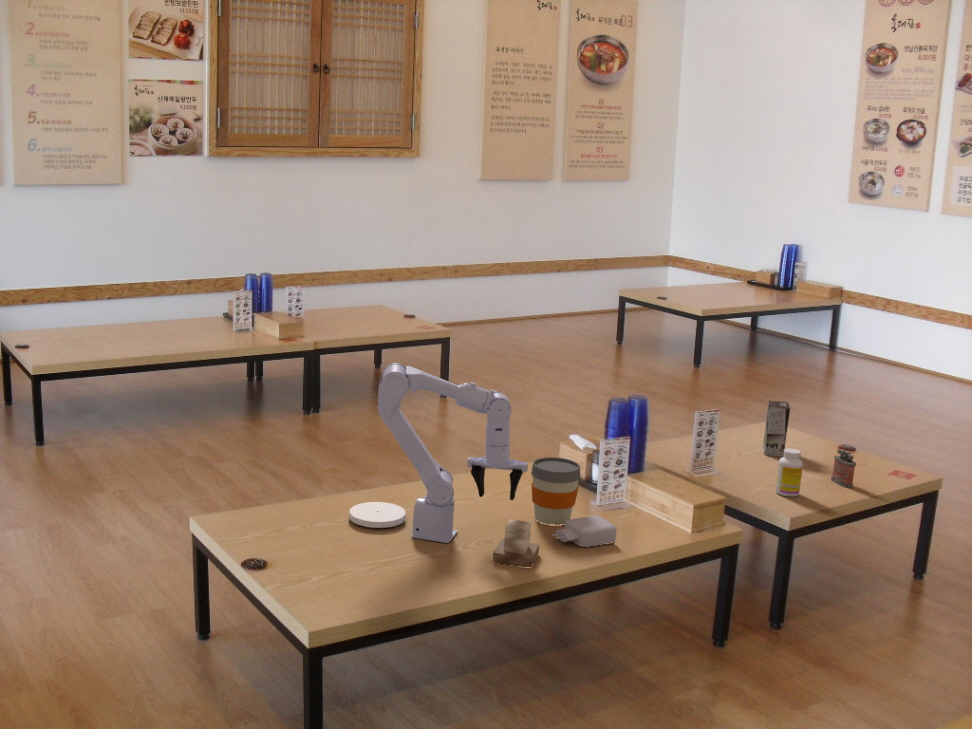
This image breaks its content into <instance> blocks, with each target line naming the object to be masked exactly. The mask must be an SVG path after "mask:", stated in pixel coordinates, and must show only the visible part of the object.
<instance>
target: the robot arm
mask: <svg viewBox="0 0 972 729" xmlns="http://www.w3.org/2000/svg"><path fill="white" fill-rule="evenodd" d="M378 386H379V387H378V397H377V398H378V401H377V402H378V403H377V404H378V406H377V412H378V416H379V417H380V418H381V420H382V421H383V423H384V424H385V425H386V427H387V428H388V430H389V431H390V433H391V435H392V436H393V437H394V439H395V440H396V442H397V443H398V445H399V446H400V447H401V449H402V450H403V452H404V454H405V455H406V457H407V458H408V459H409V461H410V462H411V464H412V466H414V468H415V470H416V471H417V473H418V475H419V477H420V478H421V482H422V483H423V485H424V487H425V489H426V491H427V492H426V493H427V494H426V495H425V496H424V497H418V498H417V499H416V500H415V503H414V508H413V515H412V517H413V518H412V531H411V532H412V533H411V536H410V537H411V538H413V539H414V538H415V539H418V540H420V539H421V540H426V541H432V542H438V543H439V542H440V543H446V544H448V543H450V542H451V541H452V540H453V538H454V537H455V536H456V535H457V533H458V529H454V514H455V512H454V511H455V498H454V496H455V488H454V486H453V483H454V481H453V480H454V479H453V476H452V473H451V472H450V471H448V470H446V469H445V468H443V467H442V466H441V465H440V463H439V462H438V461H437V460H435V458H434V457H433V455H432V454H431V453H430V451H429V450H428V448H427V447H426V445H425V444H424V442H423V440H422V439H421V438H420V436H419V435H418V432H416V430H415V428H414V427H413V426H412V424H411V423H410V421H409V420H408V419H407V417H406V415H404V414H405V413H404V412H403V411H402V410H401V408H400V407H401V404H402V399H403V397H404V396H405V395H406V393H407V392H408V390H410V391H409V393H410V394H412V393H416V392H418V391H421V390H424V391H428V392H432V393H434V394H438V395H441V396H445V397H448V398H451V399H454V401H455V403H456V405H457V406H458V407H461V408H465V409H468V410H471V411H473V412H476V413H479V414H482V415H483V414H486V418H487V420H486V424H485V456H484V457H481V456H480V457H478V456H477V457H473V456H469V457H468V458H467V461H466V463H467V468H471V469H470V475H471V476H472V477H473V480H474V482H475V484H476V488H477V492H478V497H480V498H483V496H484V495H485V475H486V474H485V473H486V469H493V470H504V471H505V470H506V471H511V472H510V473H509V484H510V486H509V487H510V489H509V490H510V491H509V501H514V500H515V498H516V493H517V488H518V486H519V482H520V480H521V478H522V476H523V474H524V473H527V472H528V470H529V463H528V462H525V461H520V460H515V459H511V458H510V457H511V456H510V449H511V448H510V446H511V445H510V444H511V442H510V441H511V425H510V422H511V419H510V417H511V415H512V413H513V409H512V406H511V402H510V399H509V398H508V396H507V395H506V394H505V393H503V392H501V391H499V390H495V389H491V388H490V390H488V389H486V388H482V387H480V386H477V384H476V382H473V381H470V383H468V382H463V383H461V384H455V383H454V382H451V381H448V380H446V379H444V378H440V377H439V376H436V375H433V374H432V373H431V374H430V373H428V372H425V371H423V370H420V369H418V368H416V367H414V366H410V365H406V366H405V365H403V364H401V363H398V362H393V363H389V364H388V365H386V366H385V368H384V369H383V371H382V374H381V376H380V379H379V385H378Z"/></svg>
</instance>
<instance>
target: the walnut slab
mask: <svg viewBox="0 0 972 729" xmlns="http://www.w3.org/2000/svg"><path fill="white" fill-rule="evenodd" d="M538 553H539V554H540V544H538V543H532V542H531V543H530V542H529V548H528V549H527V551H526V553H525V554H519V553H513V552H507V551H504V538H501V539H500V542H498V545H497V546H496V548H495V549H494V550H493V552H492V562H495V563H494V564H496V563H500V564H499V565H503V564H506V565H505V566H509V565H513V566H512V567H515V566H521V567H531V566H532V564H533V563H534V564H535V562H536V560H537V558H538V556H539V555H538ZM537 555H538V556H537ZM536 557H537V558H536ZM535 559H536V560H535ZM534 561H535V562H534ZM534 564H533V565H534ZM521 567H520V568H521ZM532 567H533V566H532ZM532 567H531V568H532Z"/></svg>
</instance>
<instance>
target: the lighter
mask: <svg viewBox="0 0 972 729" xmlns="http://www.w3.org/2000/svg"><path fill="white" fill-rule="evenodd" d="M837 454H839V455H834V458H833V459H834V461H833V469H832V475H831V477H830V478H831V479H830V481H831V482H833V483H835V484H837V485H838V486H841V487H843V488H846V489H852V487H854V484H853V483H854V482H853V481H854V476H855V469H856V466H857V463H856V462H855V461H854V460H853V459H854V454H852V453H851V452H850V451H846V450H844V449H841V448H838V449H837Z"/></svg>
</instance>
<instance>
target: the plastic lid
mask: <svg viewBox="0 0 972 729" xmlns="http://www.w3.org/2000/svg"><path fill="white" fill-rule="evenodd" d="M348 514H349V515H348V517H349V520H350V521H351V522H352V523H354V524H356V525H358V526H362V527H366V528H373V529H375V528H377V529H378V528H379V529H380V528H381V529H383V528H392V527H397V526H398V525H401V524H403V523H404V522H405V521H406V518H407V515H406V514H407V512H406V510H405V509H404V508H403V507H402V506H400V505H397V504H395V503H391V502H386V501H384V502H383V501H369V502H361V503H358V504H355V505H353V506H351V507H350V509H349V512H348Z"/></svg>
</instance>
